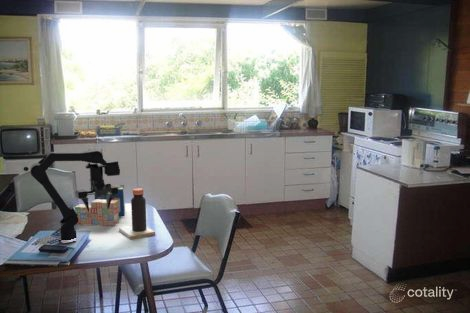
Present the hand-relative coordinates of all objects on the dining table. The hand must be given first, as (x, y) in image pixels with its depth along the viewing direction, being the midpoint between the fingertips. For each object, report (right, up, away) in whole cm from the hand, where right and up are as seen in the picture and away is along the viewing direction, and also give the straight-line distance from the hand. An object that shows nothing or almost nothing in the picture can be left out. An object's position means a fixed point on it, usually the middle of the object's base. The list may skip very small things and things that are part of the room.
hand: (98, 210), depth 215 cm
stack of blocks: (-7, -10, +23) cm, 26 cm away
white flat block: (+16, -12, +8) cm, 22 cm away
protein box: (-5, -7, +39) cm, 40 cm away
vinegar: (+18, -11, +8) cm, 22 cm away
